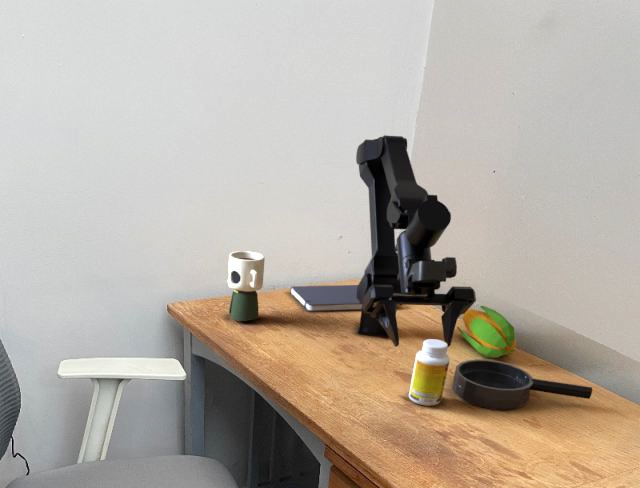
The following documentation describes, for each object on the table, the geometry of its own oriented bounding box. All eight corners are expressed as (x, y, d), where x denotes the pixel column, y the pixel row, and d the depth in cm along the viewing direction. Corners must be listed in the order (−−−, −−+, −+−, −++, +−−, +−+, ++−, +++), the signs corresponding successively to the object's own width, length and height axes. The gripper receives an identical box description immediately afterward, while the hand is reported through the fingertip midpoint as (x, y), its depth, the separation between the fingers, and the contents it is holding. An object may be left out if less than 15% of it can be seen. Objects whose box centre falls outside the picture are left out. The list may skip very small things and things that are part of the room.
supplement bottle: (443, 408, 131) (455, 350, 125) (410, 405, 131) (421, 348, 125) (438, 394, 136) (449, 338, 130) (406, 392, 136) (416, 335, 130)
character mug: (218, 311, 165) (220, 248, 158) (249, 309, 167) (253, 247, 160) (236, 329, 156) (240, 264, 149) (269, 326, 159) (274, 262, 152)
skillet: (450, 403, 133) (455, 383, 131) (452, 374, 144) (456, 355, 142) (529, 415, 131) (535, 395, 129) (525, 385, 142) (531, 366, 140)
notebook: (375, 290, 184) (289, 293, 178) (376, 284, 183) (290, 286, 177) (397, 308, 174) (308, 311, 168) (398, 301, 173) (308, 304, 167)
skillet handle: (529, 391, 134) (532, 380, 133) (528, 387, 136) (531, 376, 135) (589, 400, 133) (592, 389, 132) (588, 396, 134) (591, 385, 133)
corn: (496, 327, 144) (452, 292, 160) (484, 365, 148) (443, 328, 164) (531, 329, 146) (485, 295, 162) (519, 367, 150) (475, 330, 166)
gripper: (376, 236, 127) (384, 325, 124) (484, 239, 130) (494, 326, 127) (358, 269, 138) (365, 352, 135) (458, 272, 141) (467, 353, 138)
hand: (422, 346), depth 134 cm, fingers open, 9 cm apart
